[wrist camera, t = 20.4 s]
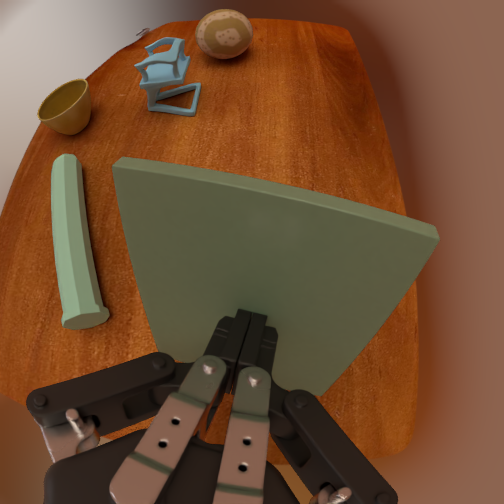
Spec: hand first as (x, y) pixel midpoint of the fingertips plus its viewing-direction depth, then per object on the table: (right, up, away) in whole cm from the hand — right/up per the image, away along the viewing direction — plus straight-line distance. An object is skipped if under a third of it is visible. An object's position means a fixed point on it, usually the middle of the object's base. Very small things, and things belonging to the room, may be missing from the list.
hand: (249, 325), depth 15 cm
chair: (-13, +28, +28) cm, 42 cm away
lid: (0, +1, +1) cm, 1 cm away
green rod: (-23, +6, +20) cm, 31 cm away
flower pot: (-31, +26, +28) cm, 49 cm away
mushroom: (-5, +43, +34) cm, 55 cm away
